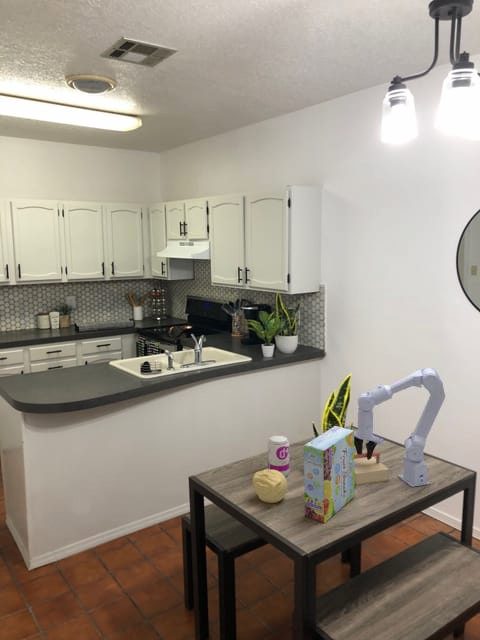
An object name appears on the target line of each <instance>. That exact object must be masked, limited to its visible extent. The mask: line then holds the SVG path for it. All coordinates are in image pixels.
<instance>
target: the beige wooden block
mask: <svg viewBox="0 0 480 640" xmlns="http://www.w3.org/2000/svg"><path fill="white" fill-rule="evenodd" d="M380 455H381V452H380V451H373V454H372V457H371V459H370V460H367V452H365V453H362V454H357V453H356V454H354V467H356V466H363V465H370V464H377V463H382V462H381V461H380V458H381V457H380Z"/></svg>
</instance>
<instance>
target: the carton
mask: <svg viewBox="0 0 480 640" xmlns="http://www.w3.org/2000/svg"><path fill="white" fill-rule="evenodd" d="M385 481H390V468H388V467H387V466H386V465H385V464H383V463H382V462H381V463H377V464H370V465H363V466H356V467H354V486H355V485H356V486H359V485H365V484H366V485H367V484H373V483H379V482H385Z"/></svg>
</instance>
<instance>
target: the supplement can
mask: <svg viewBox="0 0 480 640" xmlns="http://www.w3.org/2000/svg"><path fill="white" fill-rule="evenodd" d="M288 439H289V438H288V437H287V436H285V435H280V434H276V435H272V436H270V437H269V440H268V441H267V442H268V446H267V448H268V449H267V453H268V457H267V458H268V466H267V467H268V468H267V469H268V470H277V471H279V472H281V473H282V474H283V475H284V477H285V478H287V476H289V474H290V441H289V440H288Z"/></svg>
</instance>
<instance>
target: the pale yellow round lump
mask: <svg viewBox="0 0 480 640" xmlns="http://www.w3.org/2000/svg"><path fill="white" fill-rule="evenodd" d="M286 478H287V477H284V475H283V474H282V473H281V472H279V471H277V470H268V468H265V469H263V470H259V471H256V472H255V473H254V474H253V477H252V479H251V480H252V488H253V489H254V491H255V493H256V495H257V497H258V498H259V500H261V501H262V502H265V503H269V504H274V503H278V502H280V501H282V500H283V499H284V498H285V496H286V495H287V492H288V481H287V479H286Z"/></svg>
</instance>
